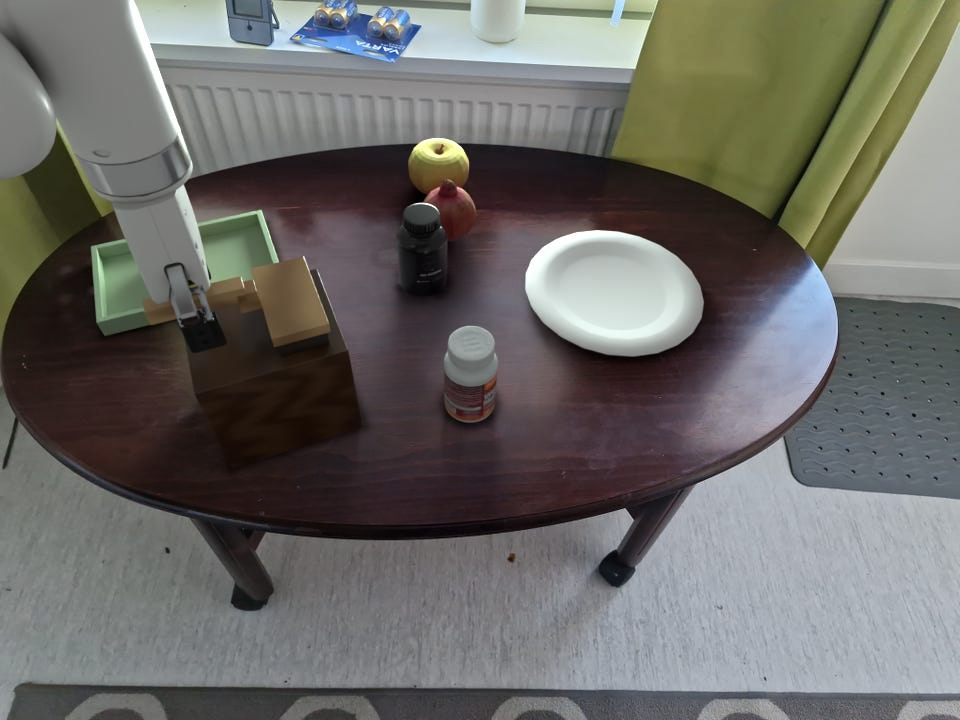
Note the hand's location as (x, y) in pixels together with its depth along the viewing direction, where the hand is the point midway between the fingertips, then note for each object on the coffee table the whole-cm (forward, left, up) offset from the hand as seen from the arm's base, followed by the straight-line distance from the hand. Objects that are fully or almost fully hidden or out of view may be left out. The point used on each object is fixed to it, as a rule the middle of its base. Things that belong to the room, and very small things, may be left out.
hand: (202, 312), depth 63 cm
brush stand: (+5, 0, -18) cm, 18 cm away
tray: (-3, +27, -18) cm, 32 cm away
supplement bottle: (+27, +14, -18) cm, 36 cm away
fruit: (+34, +22, -18) cm, 45 cm away
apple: (+37, +34, -18) cm, 54 cm away
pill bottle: (+25, -8, -18) cm, 32 cm away
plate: (+51, +2, -18) cm, 54 cm away
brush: (+3, 0, -4) cm, 5 cm away
